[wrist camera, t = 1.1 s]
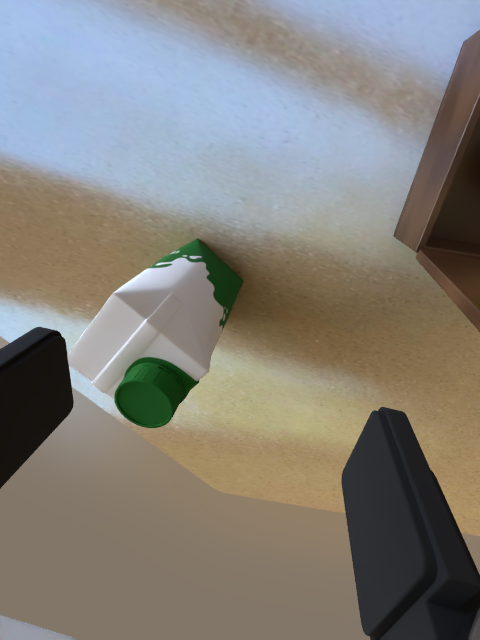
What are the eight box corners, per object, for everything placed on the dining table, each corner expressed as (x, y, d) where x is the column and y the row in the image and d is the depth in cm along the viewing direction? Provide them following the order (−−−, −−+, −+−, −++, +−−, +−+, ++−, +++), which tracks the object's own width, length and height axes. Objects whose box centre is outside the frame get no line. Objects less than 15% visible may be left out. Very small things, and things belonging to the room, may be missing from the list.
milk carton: (208, 325, 39) (137, 455, 22) (153, 278, 38) (27, 377, 20) (254, 280, 36) (213, 393, 18) (195, 225, 34) (86, 290, 16)
